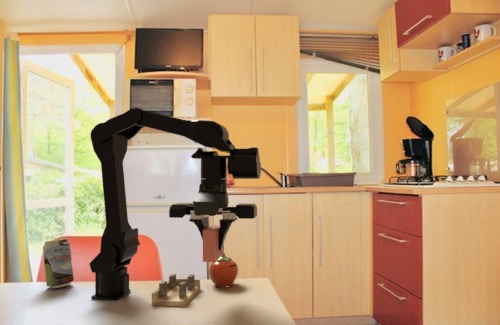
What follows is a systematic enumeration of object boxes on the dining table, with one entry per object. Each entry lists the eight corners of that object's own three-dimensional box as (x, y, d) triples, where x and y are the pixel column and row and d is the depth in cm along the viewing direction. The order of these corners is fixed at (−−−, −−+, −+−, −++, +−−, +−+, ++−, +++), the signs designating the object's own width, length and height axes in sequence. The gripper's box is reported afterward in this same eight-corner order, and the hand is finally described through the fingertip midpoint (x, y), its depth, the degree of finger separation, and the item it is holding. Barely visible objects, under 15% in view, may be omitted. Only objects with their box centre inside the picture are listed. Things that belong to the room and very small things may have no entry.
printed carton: (62, 291, 89) (62, 241, 90) (36, 289, 91) (36, 240, 91) (79, 283, 95) (79, 236, 96) (54, 282, 97) (54, 236, 97)
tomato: (231, 290, 88) (231, 257, 89) (203, 287, 91) (203, 254, 91) (242, 282, 95) (242, 251, 96) (216, 279, 98) (216, 249, 98)
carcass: (151, 305, 79) (151, 286, 79) (171, 288, 91) (171, 271, 91) (184, 306, 78) (184, 287, 78) (200, 289, 90) (200, 272, 90)
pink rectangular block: (214, 262, 77) (214, 230, 77) (202, 261, 77) (202, 230, 78) (223, 253, 86) (223, 224, 86) (213, 252, 86) (213, 224, 87)
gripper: (159, 179, 76) (159, 256, 75) (250, 179, 73) (250, 259, 72) (177, 179, 87) (177, 246, 86) (257, 178, 84) (257, 248, 83)
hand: (213, 250), depth 82 cm, fingers closed on pink rectangular block, 2 cm apart
